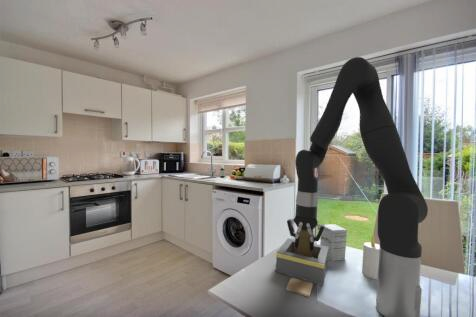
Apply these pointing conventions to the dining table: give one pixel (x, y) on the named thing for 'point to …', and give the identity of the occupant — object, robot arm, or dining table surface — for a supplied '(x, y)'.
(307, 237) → the olive brown knobbed peg
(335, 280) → the dining table surface
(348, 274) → the dining table surface
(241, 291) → the dining table surface
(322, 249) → the box
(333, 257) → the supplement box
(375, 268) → the candle
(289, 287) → the cork coaster
